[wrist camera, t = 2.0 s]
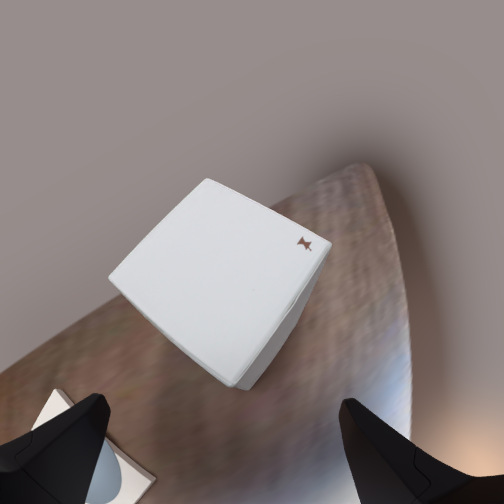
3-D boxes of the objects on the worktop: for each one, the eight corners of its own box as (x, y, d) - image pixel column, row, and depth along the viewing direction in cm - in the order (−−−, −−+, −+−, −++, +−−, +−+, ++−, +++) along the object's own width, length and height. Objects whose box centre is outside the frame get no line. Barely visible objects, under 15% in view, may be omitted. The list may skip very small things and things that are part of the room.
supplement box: (229, 277, 24) (209, 171, 14) (299, 323, 22) (340, 241, 11) (176, 340, 22) (101, 275, 11) (246, 394, 19) (234, 392, 8)
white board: (159, 474, 15) (153, 478, 14) (73, 571, 5) (67, 574, 4) (64, 386, 19) (55, 384, 17) (4, 501, 8) (-2, 502, 7)
